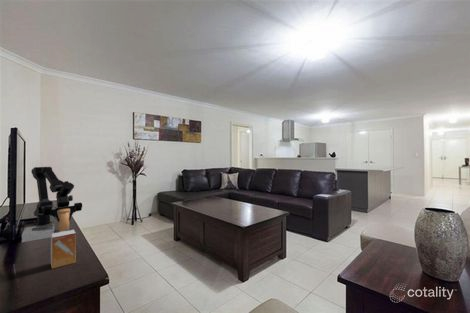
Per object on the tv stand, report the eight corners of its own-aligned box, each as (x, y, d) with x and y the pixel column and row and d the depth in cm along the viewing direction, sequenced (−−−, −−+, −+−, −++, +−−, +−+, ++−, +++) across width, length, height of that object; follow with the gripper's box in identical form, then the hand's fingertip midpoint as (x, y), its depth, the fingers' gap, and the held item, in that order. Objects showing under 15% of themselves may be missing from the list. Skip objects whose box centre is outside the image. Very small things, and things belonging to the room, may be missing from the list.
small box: (51, 269, 89) (51, 237, 89) (50, 263, 93) (50, 233, 93) (76, 262, 94) (76, 232, 94) (73, 257, 99) (73, 229, 99)
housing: (21, 242, 117) (21, 234, 117) (25, 235, 127) (25, 227, 127) (53, 236, 125) (53, 229, 125) (54, 230, 135) (54, 223, 135)
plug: (55, 232, 128) (55, 210, 128) (64, 229, 134) (64, 208, 134) (63, 233, 127) (64, 210, 127) (72, 229, 133) (72, 208, 133)
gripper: (43, 193, 127) (43, 215, 119) (81, 189, 140) (84, 210, 132) (42, 204, 133) (43, 226, 125) (79, 200, 146) (82, 220, 138)
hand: (64, 220), depth 130 cm, fingers open, 5 cm apart
